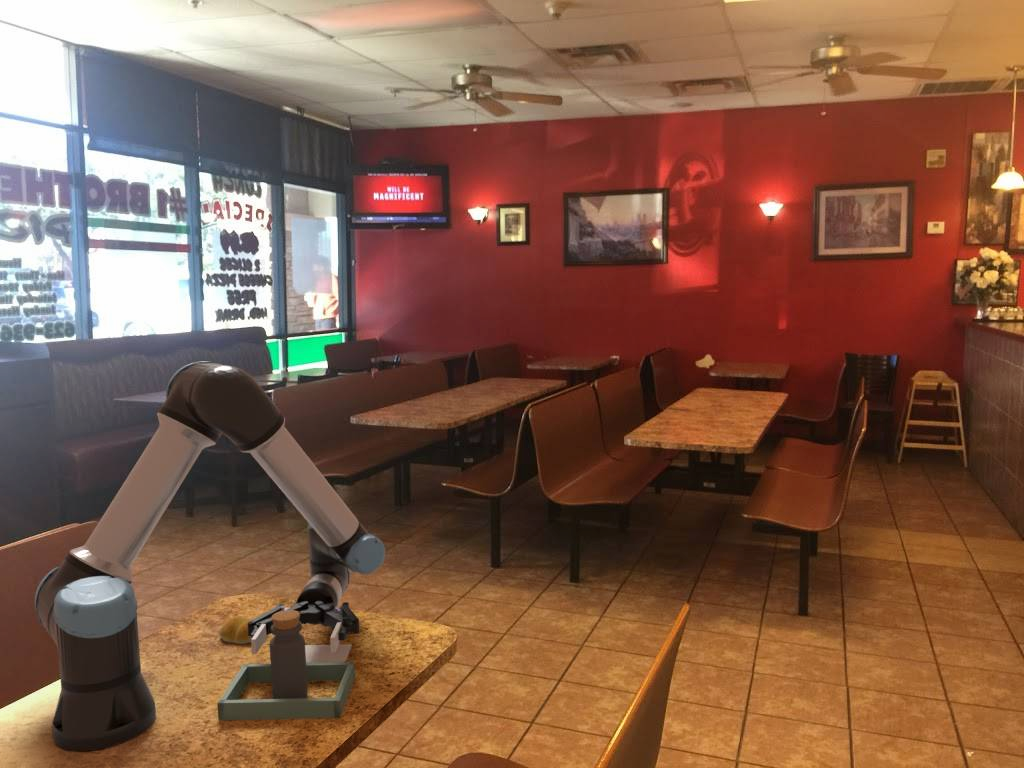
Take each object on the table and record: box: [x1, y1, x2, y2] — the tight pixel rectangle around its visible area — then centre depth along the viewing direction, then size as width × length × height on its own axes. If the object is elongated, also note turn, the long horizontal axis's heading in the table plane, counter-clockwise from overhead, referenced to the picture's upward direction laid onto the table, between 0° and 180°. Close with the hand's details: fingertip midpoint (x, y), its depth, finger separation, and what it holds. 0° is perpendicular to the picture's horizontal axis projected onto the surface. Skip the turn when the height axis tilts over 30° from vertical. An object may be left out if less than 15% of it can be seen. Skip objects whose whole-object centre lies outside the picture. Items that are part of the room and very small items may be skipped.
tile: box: [268, 643, 353, 664], centre depth 159 cm, size 14×10×1 cm
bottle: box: [269, 610, 308, 699], centre depth 143 cm, size 6×6×15 cm
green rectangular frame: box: [217, 661, 356, 721], centre depth 144 cm, size 20×14×3 cm
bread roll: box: [218, 615, 255, 645], centre depth 170 cm, size 8×9×4 cm
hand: (293, 646), depth 144 cm, fingers open, 13 cm apart
